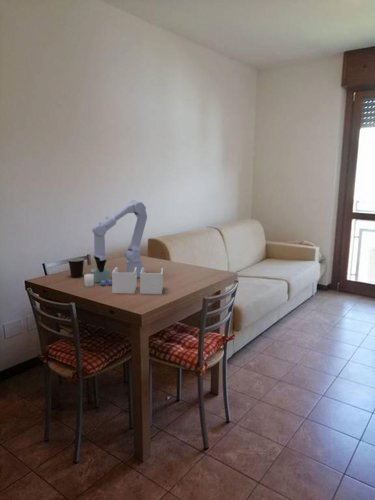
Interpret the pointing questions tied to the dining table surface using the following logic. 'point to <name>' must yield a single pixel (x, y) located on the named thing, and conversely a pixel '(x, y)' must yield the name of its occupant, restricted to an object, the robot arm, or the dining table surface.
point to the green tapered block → (100, 274)
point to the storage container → (128, 282)
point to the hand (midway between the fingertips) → (100, 270)
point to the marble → (103, 282)
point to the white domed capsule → (88, 280)
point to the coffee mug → (76, 267)
